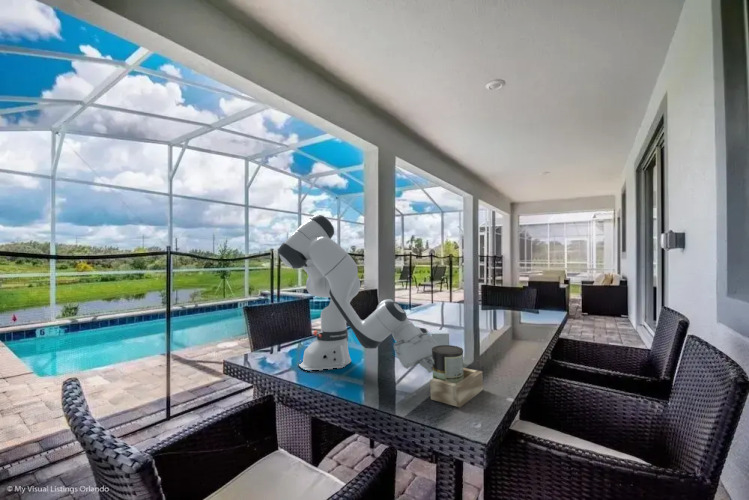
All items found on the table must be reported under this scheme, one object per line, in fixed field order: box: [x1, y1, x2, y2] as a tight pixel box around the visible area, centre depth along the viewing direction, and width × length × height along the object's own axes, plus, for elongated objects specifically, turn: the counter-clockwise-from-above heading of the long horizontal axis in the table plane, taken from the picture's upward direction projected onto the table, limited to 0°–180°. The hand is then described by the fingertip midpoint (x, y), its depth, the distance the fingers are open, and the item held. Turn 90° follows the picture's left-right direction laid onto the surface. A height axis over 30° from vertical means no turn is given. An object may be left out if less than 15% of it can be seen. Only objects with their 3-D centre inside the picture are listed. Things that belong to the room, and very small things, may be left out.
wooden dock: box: [429, 367, 484, 408], centre depth 112 cm, size 10×17×6 cm, turn 140°
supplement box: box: [430, 329, 450, 346], centre depth 148 cm, size 7×7×13 cm
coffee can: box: [431, 344, 464, 384], centre depth 114 cm, size 10×10×14 cm
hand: (433, 370), depth 118 cm, fingers closed, pressing on coffee can
